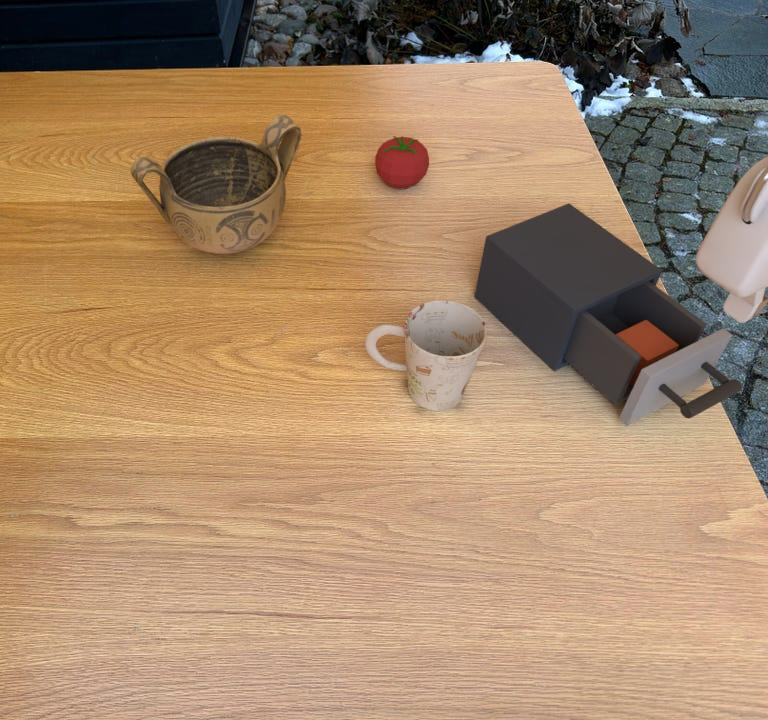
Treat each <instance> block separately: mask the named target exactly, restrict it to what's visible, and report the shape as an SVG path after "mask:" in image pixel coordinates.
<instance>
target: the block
mask: <svg viewBox="0 0 768 720" xmlns="http://www.w3.org/2000/svg"><path fill="white" fill-rule="evenodd" d="M616 336H617V337H619V338H620V339H621V340H622V341H624V342H625V343H626V344H627V345H628V346H630V347H631V348H632V349H633V350H634V351H636V352H637V353H638V354H639V355H640V356H641V359H640V361H639V363H638V366H637V368H636V370H635V372H634V374H633V376H632V379H631V381H630V383H629V384H630V385H631V386H632V387H634V385H635V383H636V381H637V378H638V376H639V374H640V372H641V370H642V369H643V368H645V367H647V366H649V365H651V364H653V363H655V362H657V361H659V360H661V359H663V358H665V357H667V356H669V355H671V354H673V353H675V352H676V350H677V348H678V346H679V345H678V344H677V343H676V342H674V341H673V340H672V339H671V338H669V337H668V336H667V335H666V334H664V333H663V332H662V331H660V330H659V329H658V328H657V327H655V326H654V325H653V324H651V323H650V322H649V321H648V320H644V321H642V322H640V323H638V324H636V325H634V326H632V327H630V328H628V329H626V330H624V331H622V332H620V333H618V334H616Z"/></svg>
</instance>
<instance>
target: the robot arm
mask: <svg viewBox="0 0 768 720" xmlns="http://www.w3.org/2000/svg"><path fill="white" fill-rule="evenodd" d="M695 264H696V267H697V269H698V271H699V272H700V273H701V274H702V275H703V276H705V277H706V278H707V279H708V280H710V281H711V282H713V283H714V284H716V285H717V286H718V287H720V288H722V289H723V290H724V291H726V292H728V295H727V298H726V299H725V301H724V303H723V305H722V310H723V311H724V314H725V315H728V316H729V317H730V318H732V319H733V320H735V321H736V322H737V323H739V324H744V323H747V322H748V321H750V320H752V319H754V318H755V317H758V316H760V315H761V314H762V313H763V312H764V308H765V307H766V306H767V304H768V295H767V294H765V291H766V289H767V288H768V155H767V156H765V157H763V158H762V159H760V160H758V161H757V162H756V163H755V164H753V165H752V166H751V167H750V168H749V169H748V170H747V171H746V172H745V173H744V174H743V175H742V177H741V178H740V179H739V180H738V181H737V183H736V185H735V186H734V187H733V188H732V191H730V193H729V195H728V197H727V198H726V200H725V202H724V203H723V205H722V206H721V208H720V210H719V211H718V213H717V215H716V217H715V218H714V220H713V222H712V224H711V226H710V227H709V229H708V231H707V232H706V235H705V236H704V239H703V240H702V242H701V243H700V246H699V248H698V250H697V252H696V255H695Z"/></svg>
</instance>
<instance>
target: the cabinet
mask: <svg viewBox="0 0 768 720" xmlns="http://www.w3.org/2000/svg"><path fill="white" fill-rule="evenodd" d="M662 273H663V269H661V268H660V267H658V266H657V265H656V264H654V263H653V262H652V261H650V260H649V259H647V258H646V257H645V256H643V255H642V254H640V253H639V252H638V251H636V250H635V249H633V247H630V246H629V245H628V244H626V243H625V242H623V241H622V240H621V239H619V237H616V235H614V234H613V233H611V232H610V231H609V230H607V229H606V228H604V227H603V226H602V225H600V224H599V223H597V222H596V221H594V220H593V219H592V218H591V217H589V216H588V215H587V214H585V213H584V212H583V211H581V210H579V209H578V208H577V207H575V206H574V205H572V204H571V203H566V204H563V205H561V206H559V207H556V208H553V209H550V210H549V211H546V212H543V213H541V214H538V215H536V216H533V217H531V218H528V219H526V220H524V221H520V222H518V223H515V224H513V225H511V226H508V227H505V228H503V229H500V230H498V231H495V232H493V233H490V234H488V235H486V236H485V240H484V245H483V250H482V255H481V260H480V265H479V270H478V275H477V281H476V285H475V289H474V290H475V291H474V296H473V297H474V298H475V300H477V302H479V303H480V304H481V305H482V306H483V307H484V308H485V309H486V310H487V311H488V312H489V313H490V314H492V315H493V316H494V317H495V318H496V319H497V320H498V321H499V322H500V323H502V325H503V326H504V327H506V328H507V329H508V330H509V331H510V332H511V333H512V334H513V335H514V336H515V337H517V339H518V340H519V341H521V343H522V344H524V345H525V346H526V347H527V348H528V349H529V350H530V351H531V352H532V353H533V354H534V355H535V356H537V358H539V359H540V360H541V361H542V362H543V363H544V364H545V365H546V366H548V368H550V369H551V371H553V372H555V371H556V372H557V371H558V370H560V369H562V368H565V367H567V366H569V365H570V364H569V363H568V362H567V361H566V360H565V359H564V358H563V357H564V354H565V351H566V348H567V345H568V342H569V339H570V336H571V333H572V331H573V328H574V325H575V322H576V319H577V316H578V313H580V312H582V311H584V310H586V309H588V308H591V307H593V306H595V305H597V304H599V303H602V302H604V301H606V300H608V299H610V298H612V297H615V296H617V295H619V294H621V293H623V292H626V291H628V290H630V289H632V288H634V287H637V286H639V285H641V284H643V283H645V282H647V281H650V282H651V283H652V284H654V285H655V286H656V287H657V284H658V282H659V280H660V278H661V275H662Z"/></svg>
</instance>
